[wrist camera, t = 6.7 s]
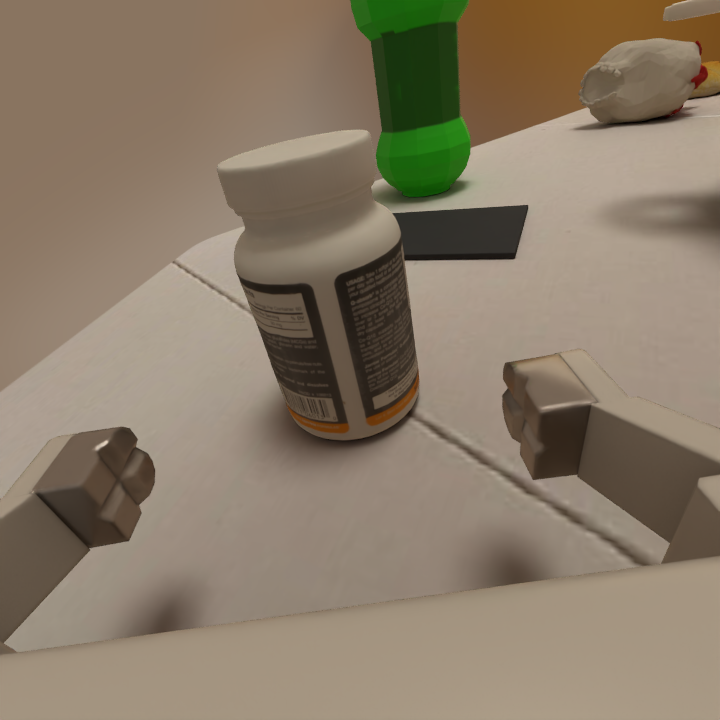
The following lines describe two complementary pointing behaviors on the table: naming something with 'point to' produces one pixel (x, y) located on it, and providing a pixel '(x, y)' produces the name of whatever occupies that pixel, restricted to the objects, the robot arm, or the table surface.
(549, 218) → the table surface
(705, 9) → the pot
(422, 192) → the plastic bottle
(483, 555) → the table surface
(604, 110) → the white lumpy rounded piece
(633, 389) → the table surface
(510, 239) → the slate mat
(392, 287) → the pill bottle
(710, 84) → the bread roll
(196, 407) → the table surface
